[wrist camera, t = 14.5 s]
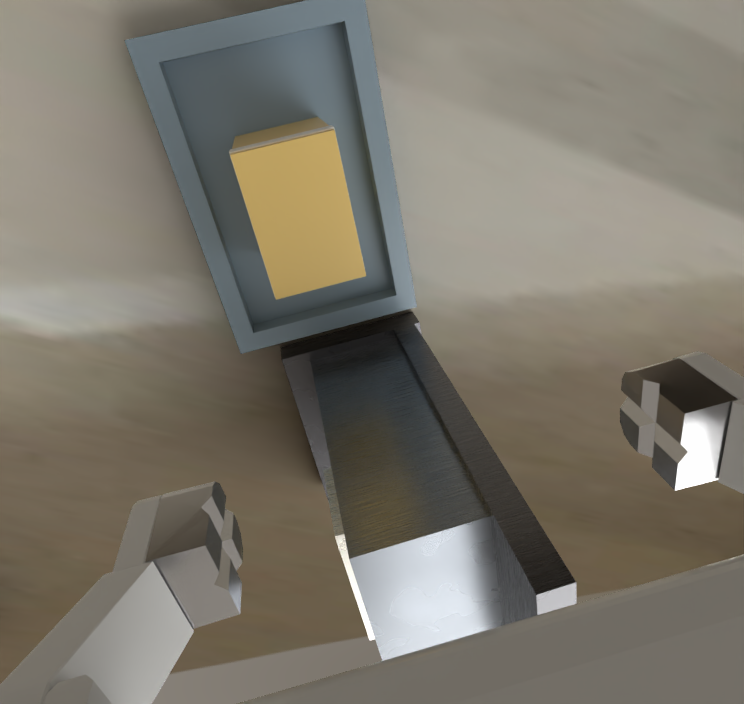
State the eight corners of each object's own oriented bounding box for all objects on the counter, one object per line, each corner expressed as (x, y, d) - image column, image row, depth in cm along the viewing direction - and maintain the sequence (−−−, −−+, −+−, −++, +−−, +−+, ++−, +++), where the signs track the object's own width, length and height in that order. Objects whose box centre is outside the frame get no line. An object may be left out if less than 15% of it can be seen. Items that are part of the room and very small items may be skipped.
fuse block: (318, 115, 25) (335, 128, 20) (346, 238, 28) (367, 276, 23) (233, 135, 25) (228, 153, 20) (271, 257, 28) (275, 301, 23)
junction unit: (412, 311, 32) (585, 579, 15) (437, 452, 37) (584, 760, 21) (280, 347, 31) (311, 665, 15) (325, 484, 36) (384, 828, 20)
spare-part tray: (356, -8, 24) (362, -12, 22) (410, 296, 31) (416, 306, 30) (131, 41, 23) (124, 40, 22) (241, 341, 30) (240, 353, 29)
